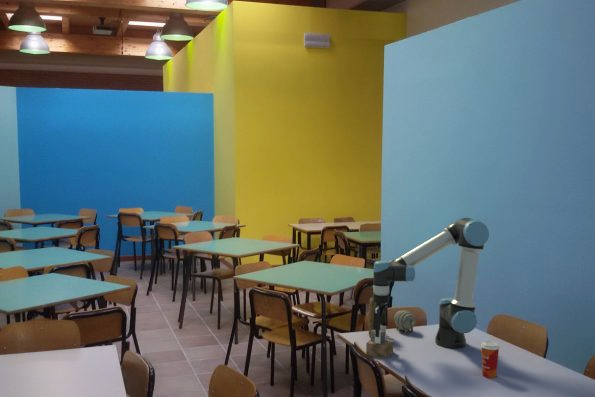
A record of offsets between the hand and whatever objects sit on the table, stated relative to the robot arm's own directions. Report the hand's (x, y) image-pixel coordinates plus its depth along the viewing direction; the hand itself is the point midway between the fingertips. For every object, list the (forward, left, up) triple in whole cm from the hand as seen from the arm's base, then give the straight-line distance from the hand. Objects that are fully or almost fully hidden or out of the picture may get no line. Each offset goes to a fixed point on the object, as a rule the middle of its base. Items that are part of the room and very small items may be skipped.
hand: (380, 341), depth 270 cm
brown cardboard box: (0, 0, -6) cm, 6 cm away
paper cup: (-51, +4, -6) cm, 52 cm away
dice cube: (+1, 0, 0) cm, 1 cm away
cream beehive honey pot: (+1, -41, -6) cm, 41 cm away
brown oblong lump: (+12, -26, -6) cm, 29 cm away
